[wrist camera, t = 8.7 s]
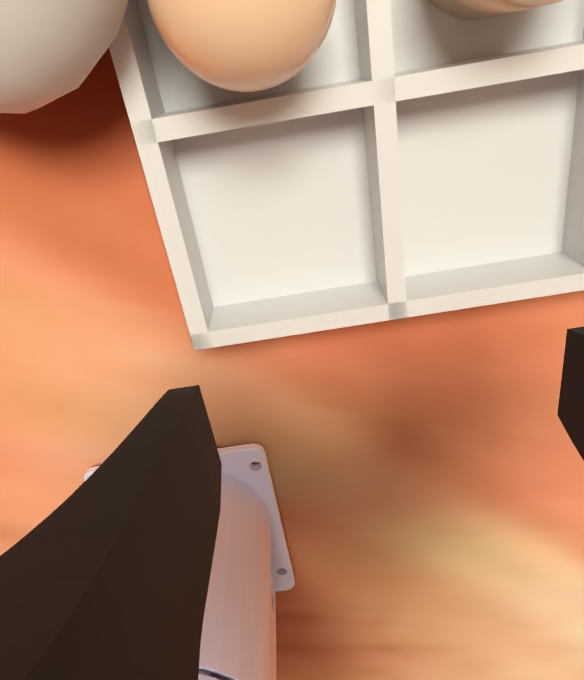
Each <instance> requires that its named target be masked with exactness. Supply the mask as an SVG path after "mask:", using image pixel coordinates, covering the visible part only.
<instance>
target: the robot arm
mask: <svg viewBox="0 0 584 680" xmlns="http://www.w3.org/2000/svg"><path fill="white" fill-rule="evenodd" d="M558 417H559V418H560V420H561V422H562V424H563V426H564V428H565V429H566V431H567V433H568V435H569V437H570V439H571V440H572V442H573V444H574V445H575V447H576V449H577V450H578V452H579V454H580V455H581V457H582V459H583V460H584V327H578V328H572V329H567V337H566V345H565V354H564V363H563V372H562V381H561V389H560V398H559V407H558ZM253 462H259V463H260V464H258V465H254V464H252V463H253ZM294 585H295V578H294V573H293V569H292V565H291V560H290V556H289V552H288V547H287V543H286V539H285V534H284V530H283V526H282V522H281V517H280V513H279V509H278V504H277V500H276V496H275V491H274V487H273V483H272V479H271V474H270V470H269V466H268V461H267V457H266V453H265V450H264V448H263V447H262V446H261V445H259V444H255V443H251V444H245V445H238V446H231V447H224V448H217V446H216V443H215V439H214V436H213V432H212V429H211V425H210V422H209V418H208V415H207V412H206V408H205V405H204V401H203V398H202V394H201V391H200V387H199V385H197V386H191V387H184V388H177V389H171V390H168V391H167V392H166V393H165V394H164V395H163V396H162V397H161V399H160V400H159V401H158V402H157V403H156V404H155V405H154V407H153V408H152V409H151V410H150V411H149V412H148V413H147V415H146V416H145V417H144V418H143V419H142V420H141V422H140V423H139V424H138V425H137V426H136V427H135V428H134V429H133V431H132V432H131V433H130V434H129V435H128V436H127V437H126V438H125V440H124V441H123V442H122V443H121V444H120V445H119V446H118V447H117V449H116V450H115V451H114V452H113V453H112V454H111V455H110V456H109V457H108V458H107V459H106V460H105V461H104V462H103V463H102V464H101V465H100V466H95V467H91V468H89V469H88V470H87V471H86V474H85V476H84V483H83V484H82V485H81V486H80V487H79V488H78V489H77V490H76V491H75V492H74V493H73V494H72V495H71V496H70V497H69V498H68V499H67V500H66V501H64V502H63V503H62V504H61V505H60V506H59V507H58V508H57V509H56V510H55V511H54V512H52V513H51V514H50V515H49V516H48V517H47V518H46V519H45V520H43V521H42V522H41V523H40V524H39V525H38V526H36V527H35V528H34V529H33V530H32V531H31V532H29V533H28V534H27V535H26V536H25V537H24V538H22V539H21V540H20V541H19V542H18V543H16V544H15V545H14V546H13V547H11V548H10V549H9V550H8V551H6V552H5V553H4V554H2V555H1V556H0V680H277V677H276V592H278V591H285V590H289V589H291V588H293V586H294Z"/></svg>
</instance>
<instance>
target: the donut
mask: <svg viewBox="0 0 584 680" xmlns="http://www.w3.org/2000/svg"><path fill="white" fill-rule="evenodd" d="M128 1H129V0H0V113H19V114H26V113H28V112H31V111H33V110H36V109H38V108H41V107H43V106H44V105H46V104H48V103H50V102H52V101H54V100H56V99H58V98H60V97H62V96H63V95H65V94H67V93H69V92H71V91H73V90H75V89H77V88H79V87H80V85H81V84H82V83H83V81H84V80H85V79H86V77H87V76H88V75H89V73H90V72H91V71H92V69H93V68H94V66H95V65H96V64H97V62H98V61H99V60H100V58H101V57H102V56H103V54H104V53H105V51H106V50H107V49H108V47H109V46H110V45H111V43H112V42H113V41H114V39H115V38H116V36H117V35H118V33H119V30H120V27H121V24H122V20H123V17H124V14H125V11H126V8H127V5H128Z"/></svg>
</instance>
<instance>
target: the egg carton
mask: <svg viewBox="0 0 584 680" xmlns="http://www.w3.org/2000/svg"><path fill="white" fill-rule="evenodd" d="M109 50H110V53H111V57H112V60H113V64H114V67H115V71H116V75H117V78H118V82H119V85H120V89H121V92H122V96H123V99H124V103H125V106H126V110H127V113H128V117H129V120H130V124H131V128H132V131H133V135H134V138H135V142H136V145H137V149H138V152H139V156H140V159H141V163H142V166H143V170H144V173H145V177H146V180H147V184H148V188H149V191H150V195H151V198H152V202H153V205H154V209H155V212H156V216H157V219H158V223H159V226H160V230H161V233H162V237H163V241H164V244H165V248H166V251H167V255H168V258H169V262H170V265H171V269H172V272H173V276H174V279H175V283H176V286H177V290H178V294H179V297H180V301H181V304H182V308H183V311H184V315H185V318H186V322H187V325H188V329H189V332H190V336H191V339H192V343H193V347H194V350H200V349H207V348H213V347H220V346H226V345H233V344H239V343H246V342H252V341H259V340H265V339H271V338H278V337H284V336H291V335H297V334H304V333H310V332H317V331H323V330H330V329H336V328H343V327H349V326H355V325H362V324H368V323H375V322H381V321H388V320H394V319H401V318H407V317H414V316H420V315H426V314H433V313H439V312H446V311H452V310H459V309H465V308H472V307H478V306H485V305H491V304H497V303H504V302H510V301H517V300H523V299H530V298H536V297H543V296H549V295H556V294H562V293H569V292H575V291H581V290H584V0H564V1H561V2H558V3H554V4H550V5H546V6H541V7H536V8H531V9H526V10H521V11H516V12H511V13H506V14H502V15H497V16H492V17H487V18H482V19H461V18H457V17H453V16H451V15H448V14H446V13H444V12H443V11H441V10H439V9H438V8H437V7H436V6H434V5H433V4H432V3H431V2H430V1H429V0H336V7H335V11H334V15H333V19H332V22H331V25H330V27H329V30H328V33H327V35H326V37H325V39H324V41H323V43H322V45H321V47H320V48H319V50H318V51H317V53H316V54H315V56H314V57H313V58H312V59H311V61H310V62H309V63H308V64H307V65H306V66H305V67H304V68H303V69H302V70H301V71H300V72H299V73H297V74H296V75H295V76H293V77H292V78H290V79H289V80H287V81H286V82H284V83H282V84H280V85H278V86H275V87H272V88H269V89H266V90H261V91H255V92H237V91H230V90H226V89H222V88H219V87H216V86H214V85H212V84H209V83H207V82H205V81H204V80H202V79H200V78H199V77H197V76H196V75H194V74H193V73H192V72H190V71H189V70H188V69H187V68H185V67H184V66H183V65H182V64H181V63H180V62H179V61H178V60H177V59H176V57H175V56H174V55H173V54H172V52H171V51H170V50H169V49H168V47H167V45H166V44H165V42H164V41H163V39H162V38H161V36H160V34H159V32H158V30H157V28H156V26H155V24H154V21H153V18H152V15H151V13H150V10H149V6H148V2H147V0H129V1H128V5H127V8H126V11H125V14H124V17H123V20H122V24H121V27H120V30H119V33H118V35H117V36H116V38H115V39H114V41H113V42H112V43H111V45H110V46H109Z"/></svg>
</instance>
